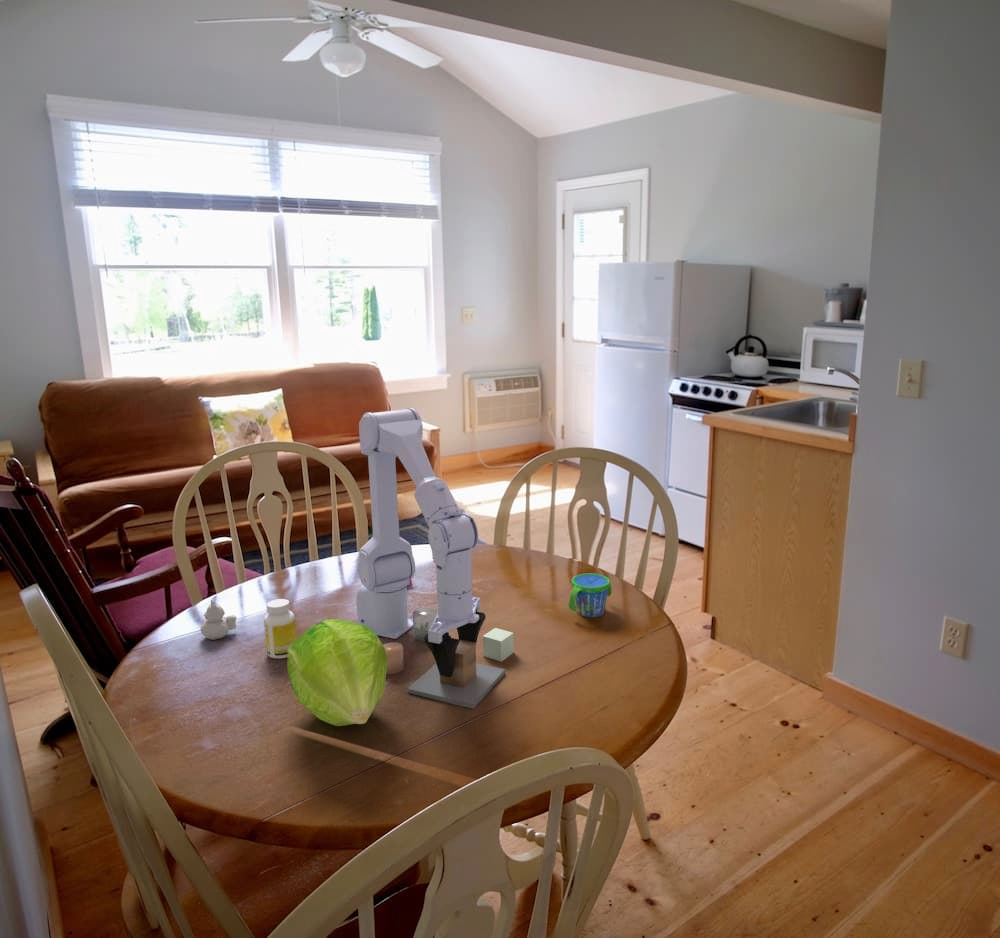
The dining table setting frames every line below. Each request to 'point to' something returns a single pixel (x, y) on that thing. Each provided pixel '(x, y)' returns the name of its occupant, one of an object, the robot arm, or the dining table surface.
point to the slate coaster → (457, 695)
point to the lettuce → (338, 671)
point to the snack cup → (589, 594)
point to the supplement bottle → (279, 628)
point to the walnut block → (462, 665)
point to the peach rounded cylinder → (394, 657)
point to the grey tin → (422, 622)
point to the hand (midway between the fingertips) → (457, 664)
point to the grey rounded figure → (217, 622)
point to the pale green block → (498, 644)
